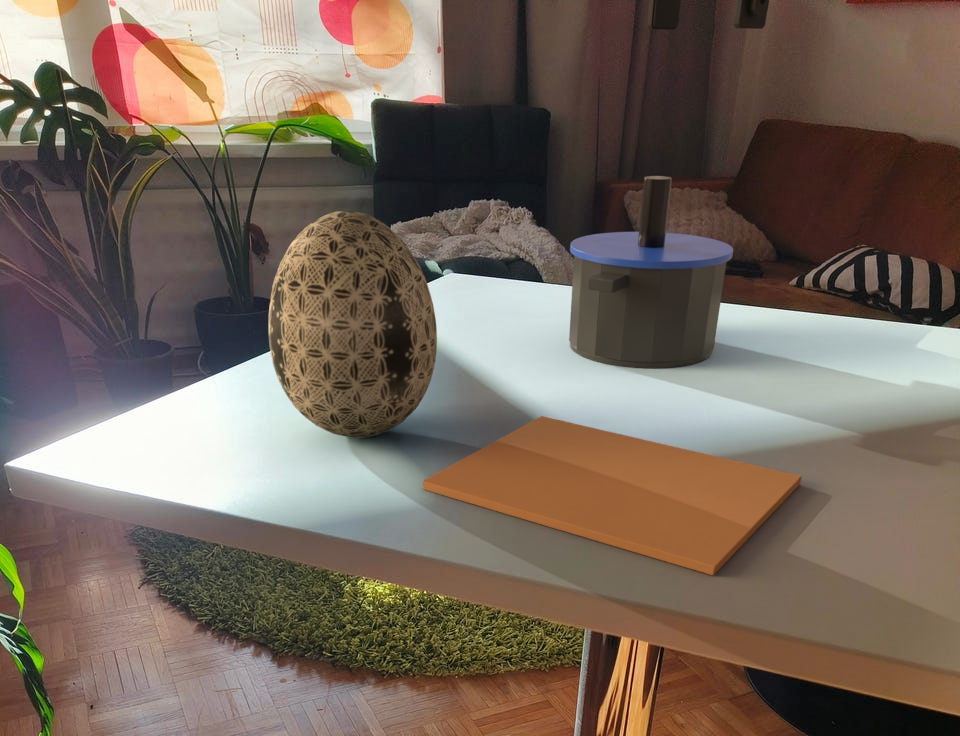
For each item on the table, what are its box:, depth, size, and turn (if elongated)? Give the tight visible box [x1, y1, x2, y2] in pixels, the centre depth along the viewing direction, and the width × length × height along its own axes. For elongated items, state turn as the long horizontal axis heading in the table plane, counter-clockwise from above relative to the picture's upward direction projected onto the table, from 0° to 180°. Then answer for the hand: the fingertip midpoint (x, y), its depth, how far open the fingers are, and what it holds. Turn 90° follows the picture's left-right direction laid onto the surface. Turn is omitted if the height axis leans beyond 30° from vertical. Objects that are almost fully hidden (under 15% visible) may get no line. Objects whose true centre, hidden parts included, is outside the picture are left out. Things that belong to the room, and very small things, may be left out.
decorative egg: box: [268, 210, 438, 439], centre depth 62 cm, size 12×12×15 cm
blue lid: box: [569, 175, 734, 269], centre depth 80 cm, size 15×15×7 cm
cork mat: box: [422, 415, 803, 576], centre depth 58 cm, size 20×15×1 cm
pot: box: [568, 255, 727, 369], centre depth 83 cm, size 14×19×8 cm
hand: (703, 28), depth 75 cm, fingers open, 9 cm apart
